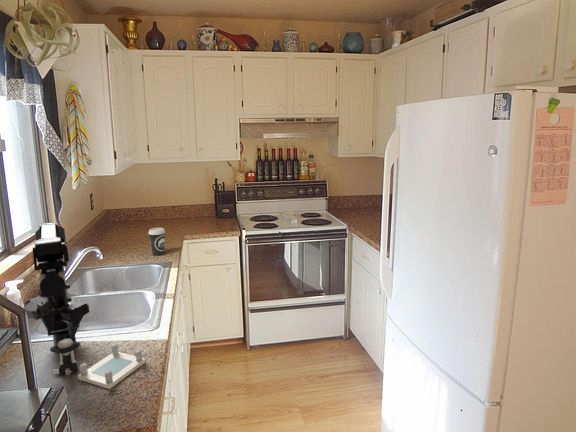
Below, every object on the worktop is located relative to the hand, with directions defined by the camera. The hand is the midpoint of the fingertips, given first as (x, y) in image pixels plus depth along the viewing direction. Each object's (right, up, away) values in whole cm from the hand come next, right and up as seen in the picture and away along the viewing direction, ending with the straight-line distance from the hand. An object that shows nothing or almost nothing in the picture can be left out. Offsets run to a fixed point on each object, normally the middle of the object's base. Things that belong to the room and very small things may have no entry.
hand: (61, 334), depth 115 cm
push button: (0, -12, +3) cm, 13 cm away
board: (+13, -12, +3) cm, 18 cm away
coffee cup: (-10, +12, +115) cm, 116 cm away
